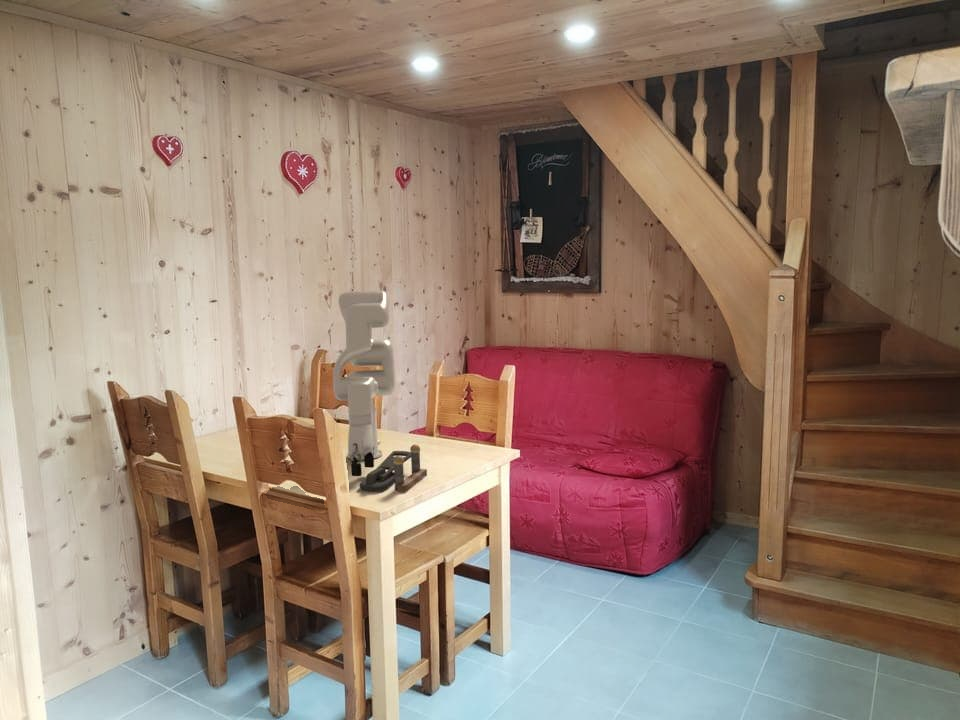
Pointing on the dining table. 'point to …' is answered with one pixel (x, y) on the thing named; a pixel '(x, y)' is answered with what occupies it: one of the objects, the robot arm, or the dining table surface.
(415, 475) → the peg stop rail
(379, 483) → the zipper pull
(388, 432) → the dining table surface
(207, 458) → the dining table surface
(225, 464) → the dining table surface
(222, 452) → the dining table surface
